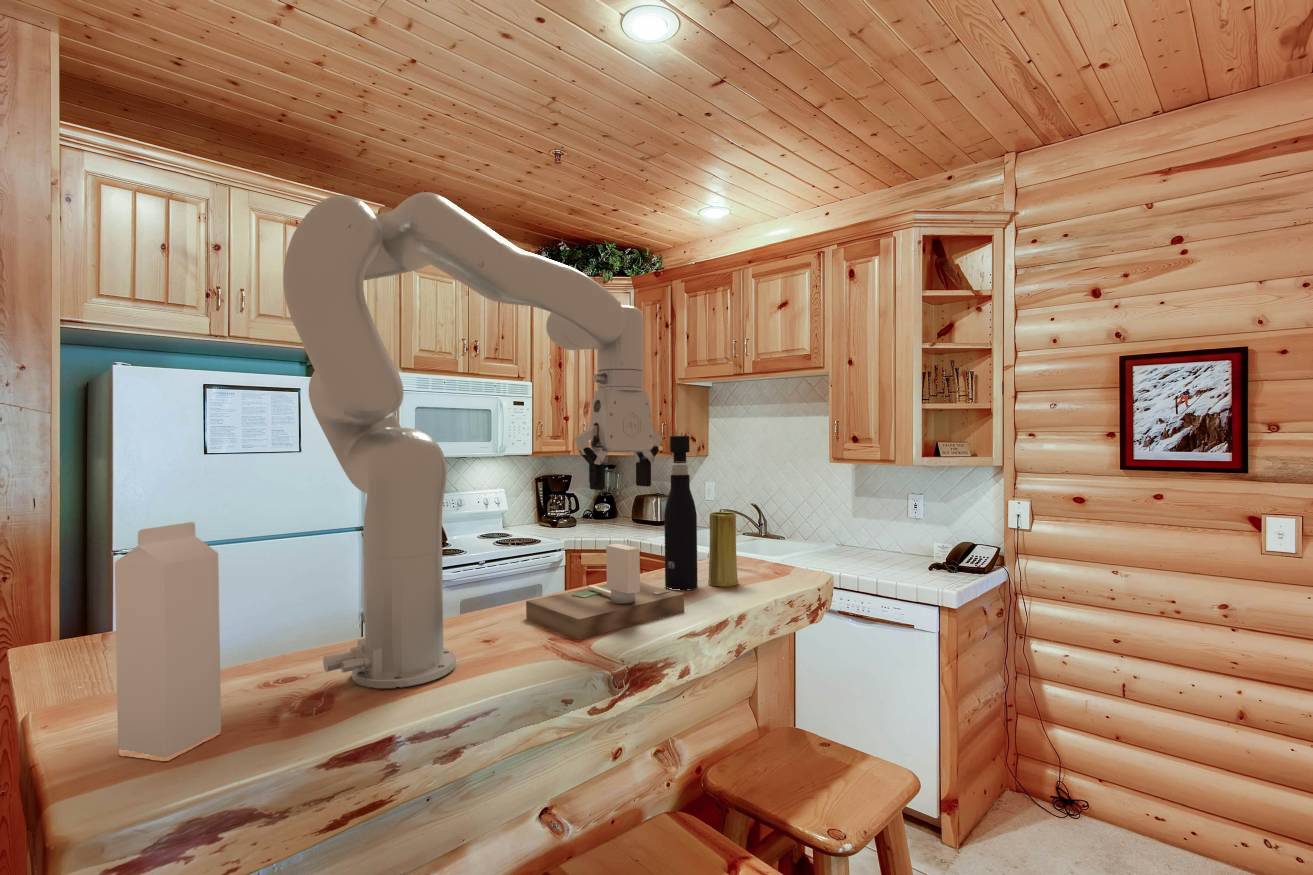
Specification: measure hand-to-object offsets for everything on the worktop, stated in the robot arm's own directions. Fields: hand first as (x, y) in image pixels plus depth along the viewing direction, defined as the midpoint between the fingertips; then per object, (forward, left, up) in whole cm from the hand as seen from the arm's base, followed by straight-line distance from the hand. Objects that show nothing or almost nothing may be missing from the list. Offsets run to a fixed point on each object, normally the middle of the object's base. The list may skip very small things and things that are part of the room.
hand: (621, 487), depth 107 cm
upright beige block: (0, +3, -18) cm, 19 cm away
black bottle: (+23, +10, -22) cm, 34 cm away
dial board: (0, +4, -22) cm, 22 cm away
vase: (+31, +6, -22) cm, 39 cm away
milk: (-60, -2, -22) cm, 64 cm away
